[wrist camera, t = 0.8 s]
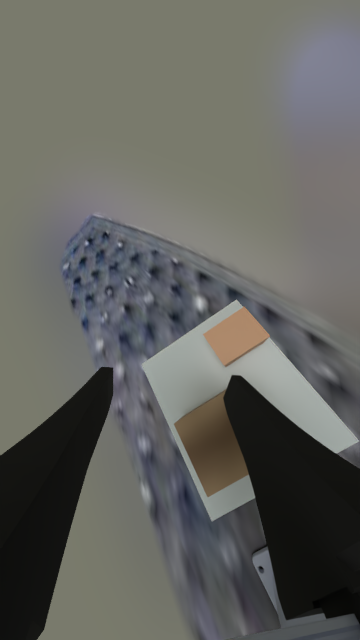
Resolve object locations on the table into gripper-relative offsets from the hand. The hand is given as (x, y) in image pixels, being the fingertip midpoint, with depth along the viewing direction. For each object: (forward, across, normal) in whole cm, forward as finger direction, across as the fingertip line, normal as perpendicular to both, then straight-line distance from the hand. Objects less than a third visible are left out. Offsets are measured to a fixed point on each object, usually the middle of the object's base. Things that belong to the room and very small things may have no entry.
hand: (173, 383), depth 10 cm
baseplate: (+8, -9, +9) cm, 15 cm away
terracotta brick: (+12, -10, +3) cm, 16 cm away
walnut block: (+5, -8, +12) cm, 16 cm away
